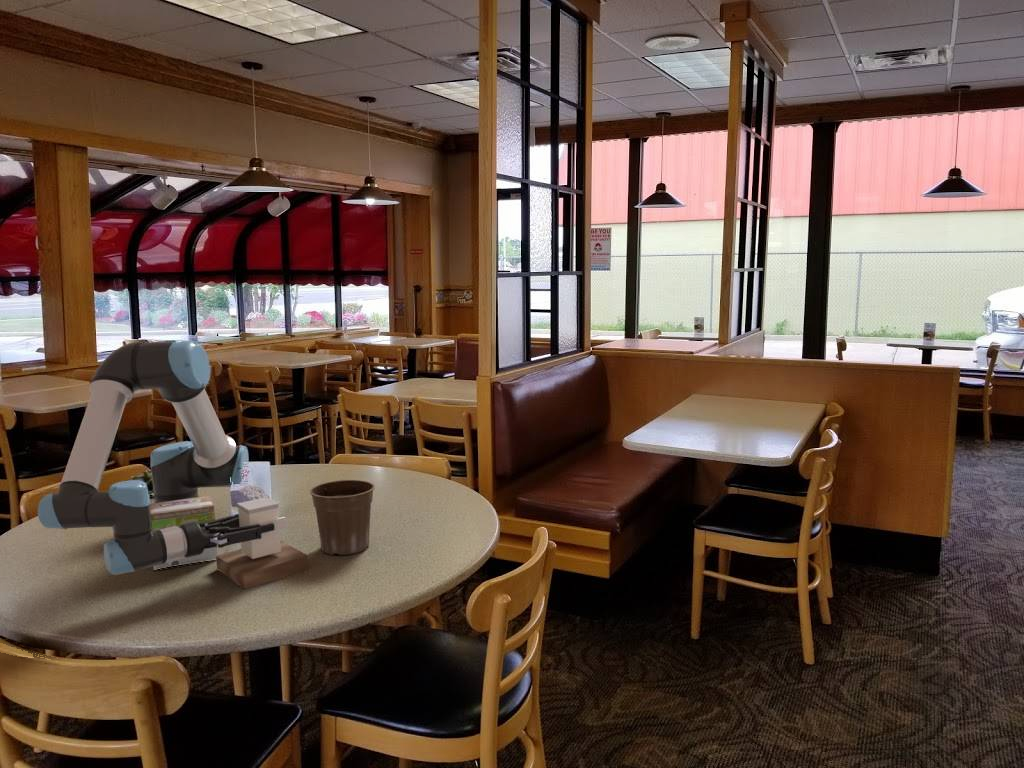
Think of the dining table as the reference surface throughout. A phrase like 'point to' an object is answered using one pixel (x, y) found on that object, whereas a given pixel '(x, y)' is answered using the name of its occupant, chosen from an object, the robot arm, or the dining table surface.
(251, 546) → the white lidded box
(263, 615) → the dining table surface
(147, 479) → the green leafy plant
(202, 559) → the tea box
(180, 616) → the dining table surface
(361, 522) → the plant pot
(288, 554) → the block
